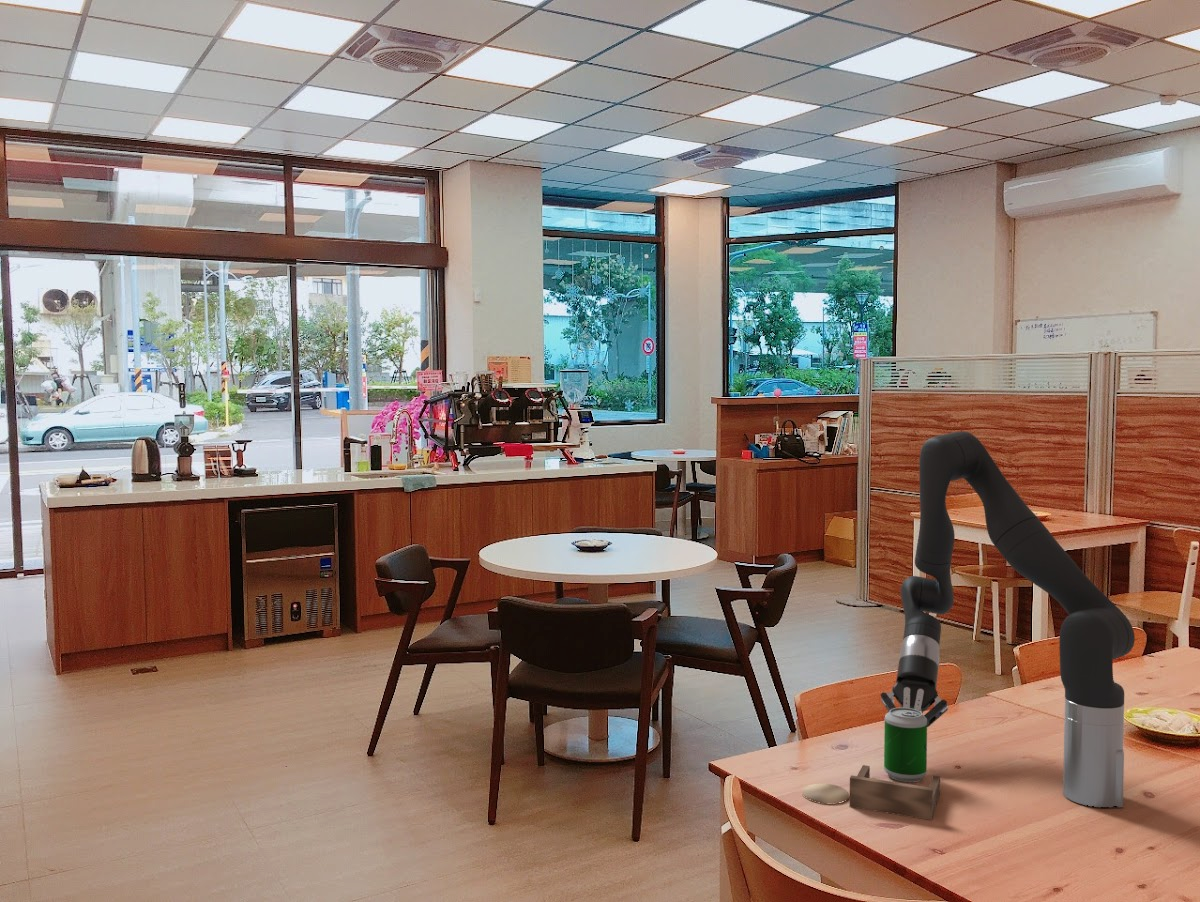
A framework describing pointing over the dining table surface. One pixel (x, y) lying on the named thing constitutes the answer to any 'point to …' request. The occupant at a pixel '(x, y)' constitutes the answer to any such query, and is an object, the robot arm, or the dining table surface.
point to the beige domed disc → (825, 793)
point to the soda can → (905, 744)
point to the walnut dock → (894, 795)
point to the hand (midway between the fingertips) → (908, 743)
